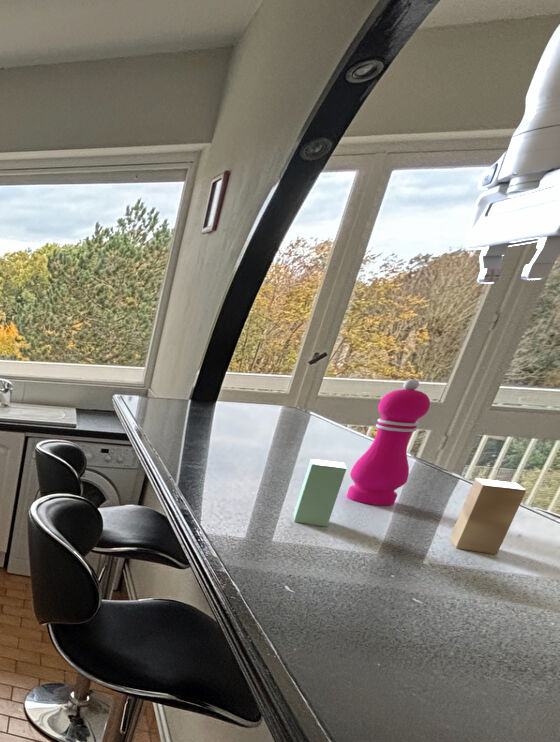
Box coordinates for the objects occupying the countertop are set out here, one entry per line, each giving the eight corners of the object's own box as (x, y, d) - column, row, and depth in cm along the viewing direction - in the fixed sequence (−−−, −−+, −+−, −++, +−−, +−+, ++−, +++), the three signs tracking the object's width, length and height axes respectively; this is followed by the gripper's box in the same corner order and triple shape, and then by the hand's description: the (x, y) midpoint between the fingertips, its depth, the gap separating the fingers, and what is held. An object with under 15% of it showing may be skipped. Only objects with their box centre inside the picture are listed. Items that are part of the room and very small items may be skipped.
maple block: (488, 545, 81) (516, 482, 78) (496, 554, 78) (526, 490, 75) (448, 539, 83) (474, 478, 80) (455, 548, 80) (483, 484, 77)
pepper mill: (377, 508, 96) (423, 382, 88) (332, 495, 102) (371, 377, 95) (408, 504, 98) (456, 381, 90) (362, 492, 104) (404, 376, 97)
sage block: (324, 519, 91) (344, 462, 87) (326, 527, 88) (346, 468, 84) (293, 514, 93) (310, 458, 89) (293, 521, 90) (312, 464, 86)
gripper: (662, 134, 62) (602, 276, 67) (533, 174, 80) (493, 284, 85) (581, 140, 65) (529, 277, 69) (473, 178, 82) (437, 285, 87)
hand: (508, 281), depth 77 cm, fingers open, 8 cm apart
